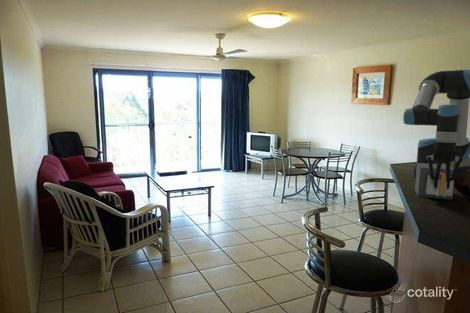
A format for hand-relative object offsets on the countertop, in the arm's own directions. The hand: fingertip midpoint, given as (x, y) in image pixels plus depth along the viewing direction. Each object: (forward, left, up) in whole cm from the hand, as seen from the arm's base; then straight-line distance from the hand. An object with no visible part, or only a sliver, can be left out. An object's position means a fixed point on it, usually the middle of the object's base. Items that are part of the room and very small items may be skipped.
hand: (440, 195), depth 146 cm
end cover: (-5, -5, -1) cm, 7 cm away
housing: (-14, -14, -4) cm, 21 cm away
